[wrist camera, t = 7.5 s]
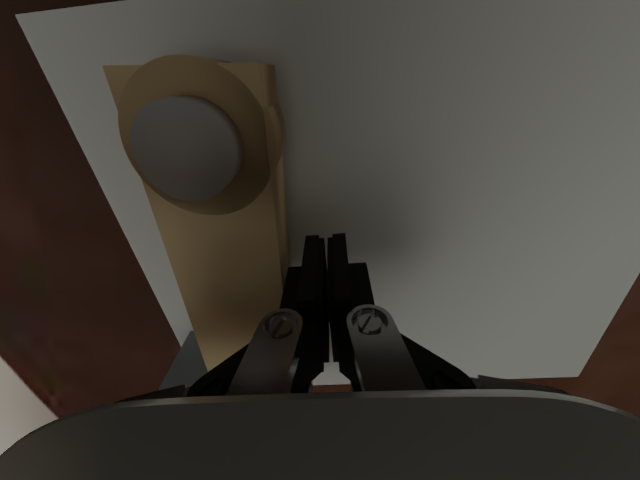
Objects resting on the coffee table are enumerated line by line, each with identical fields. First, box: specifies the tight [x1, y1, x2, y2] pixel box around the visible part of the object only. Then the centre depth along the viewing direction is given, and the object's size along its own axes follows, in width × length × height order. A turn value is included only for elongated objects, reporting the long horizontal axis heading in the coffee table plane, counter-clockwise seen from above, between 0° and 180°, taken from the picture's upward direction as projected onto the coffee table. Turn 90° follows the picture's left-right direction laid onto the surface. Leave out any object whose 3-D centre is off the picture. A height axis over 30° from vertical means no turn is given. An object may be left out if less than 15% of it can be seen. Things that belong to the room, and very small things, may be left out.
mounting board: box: [15, 0, 640, 390], centre depth 11 cm, size 20×24×6 cm
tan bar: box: [102, 54, 291, 372], centre depth 12 cm, size 17×4×4 cm, turn 1°
